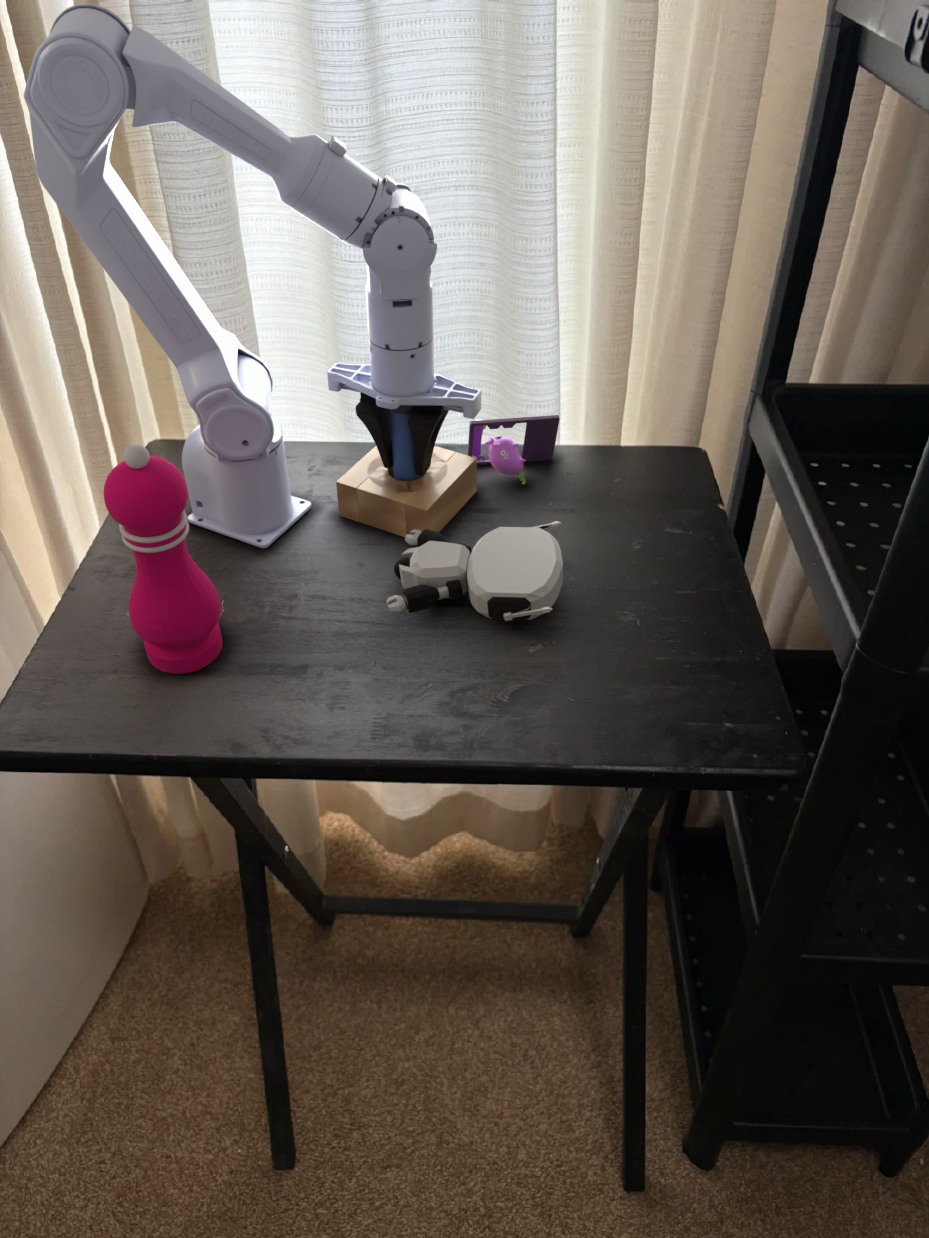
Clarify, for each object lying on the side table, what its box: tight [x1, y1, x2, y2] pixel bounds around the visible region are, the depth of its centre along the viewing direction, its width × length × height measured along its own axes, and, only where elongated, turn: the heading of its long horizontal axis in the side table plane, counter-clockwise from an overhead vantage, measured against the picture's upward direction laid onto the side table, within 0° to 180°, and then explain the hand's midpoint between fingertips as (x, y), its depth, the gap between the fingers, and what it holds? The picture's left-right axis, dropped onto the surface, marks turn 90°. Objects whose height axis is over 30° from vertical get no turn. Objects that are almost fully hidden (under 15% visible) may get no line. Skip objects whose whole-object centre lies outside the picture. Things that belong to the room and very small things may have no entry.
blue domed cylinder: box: [390, 405, 422, 481], centre depth 98 cm, size 3×3×10 cm
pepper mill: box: [103, 443, 224, 675], centre depth 80 cm, size 7×7×20 cm
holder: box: [335, 445, 478, 538], centre depth 101 cm, size 10×10×4 cm
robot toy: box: [385, 520, 564, 622], centre depth 91 cm, size 12×4×15 cm
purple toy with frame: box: [467, 414, 560, 485], centre depth 104 cm, size 7×5×9 cm
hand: (407, 466), depth 100 cm, fingers closed on blue domed cylinder, 3 cm apart
